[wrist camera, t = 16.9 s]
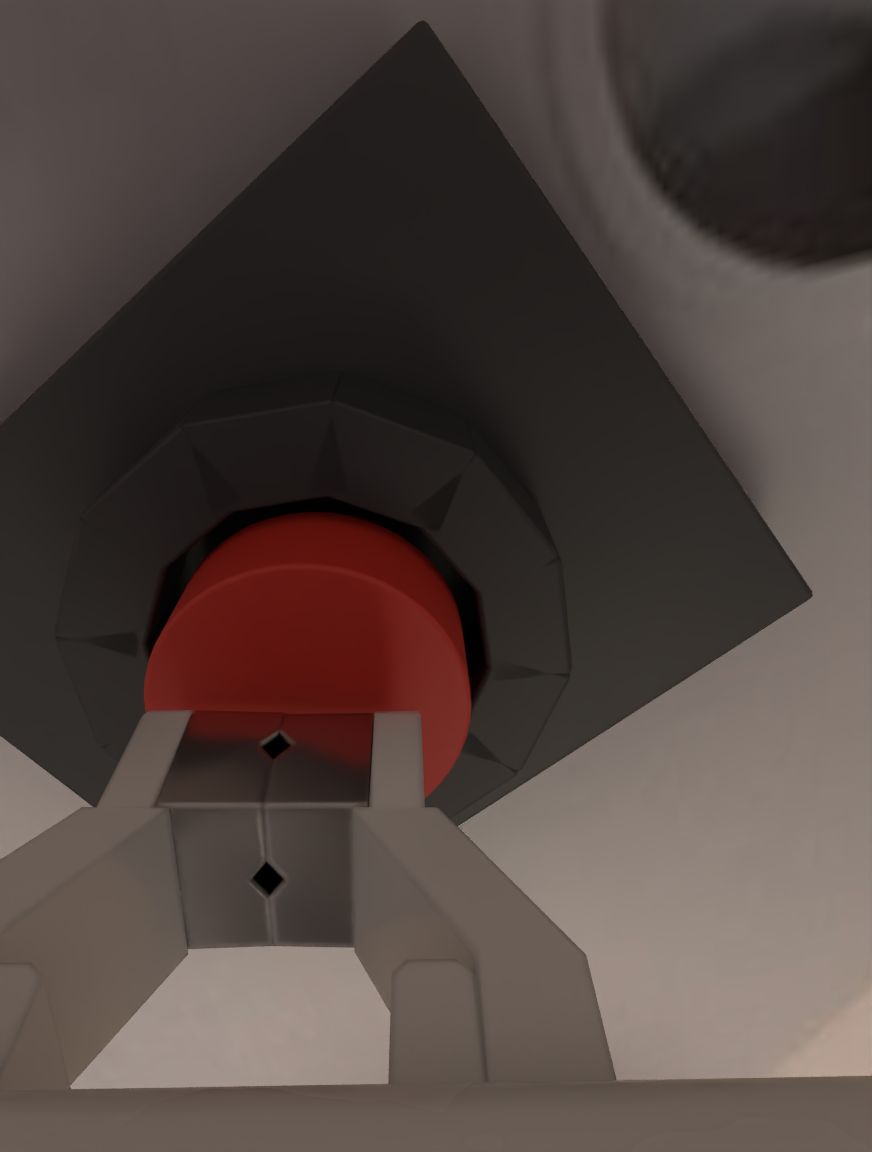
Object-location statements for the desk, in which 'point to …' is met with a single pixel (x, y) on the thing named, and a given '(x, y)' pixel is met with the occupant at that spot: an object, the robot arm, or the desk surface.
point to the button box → (380, 445)
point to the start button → (319, 631)
